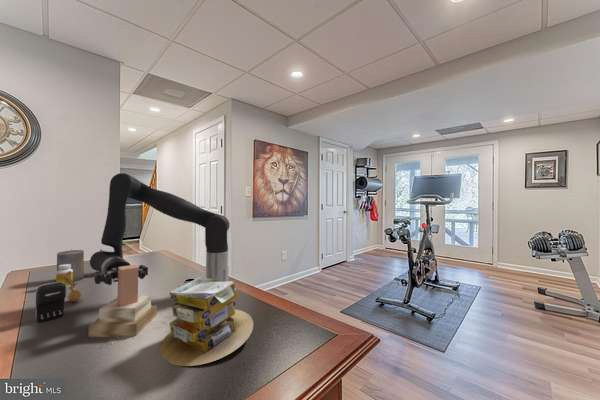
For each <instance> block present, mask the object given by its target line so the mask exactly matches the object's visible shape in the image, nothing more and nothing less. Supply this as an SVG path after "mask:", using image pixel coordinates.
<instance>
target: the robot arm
mask: <svg viewBox="0 0 600 400" xmlns="http://www.w3.org/2000/svg"><path fill="white" fill-rule="evenodd" d="M108 192H109V194H108V206H107V215H106V219H105V224H104V227H103V232H102V236H101V239H100V243H101V245H104V246H106V247H113V248H114V252H105V251H100V250H99V251H96V252H94V253H93V254H92V255H91V256H90V259H89V265H90V268H91V269H93V270H94V282H95V285H99V284H101V283H103V284H105V285H108V286H111V285H112V284H113V283H118V267H122V266H129V265H131V264H130V262H129V261H127V260H126V259H124V256H123V254H124V253H123V240H124V236H125V231H126V226H127V225H126V224H127V218H126V206H127V201H128V199H131V200H135V201H137V202H141V203H144V204H146V205H148V206H150V207H151V208H153V209H154V210H155V211H158V212H159V213H162V214H163V215H166V216H169V217H171V218H172V219H177V220H180V221H182V222H183V221H184V222H188V223H193V224H196V225H199V226H200V227H203V228H204V236H205V237H204V239H205V240H204V241H205V242H204V243H205V247H206V250H205V252H206V254H205V279H206V278H207V279H212V280H217V279H218V280H219V282H225V281H229V265H228V262H229V243H228V231H229V229H230V222H229V219H228V218H227V217H226V216H224V215H221V214H218V213H215V212H212V211H209V210H206V209H204V208H202V207H200V206H198V205H196V204H195V203H193V202H190V201H188V200H187V199H184V198H183V197H180V196H177V195H176V194H174V193H170V192H167V191H163V190H159V189H156V188H153V187H151V186H150V185H147V184H145V183H144V182H142V181H140V180H139V179H137V178H136V177H134V176H133V175H130V174H128V173H124V172H120V173H117V174H115V175H114V176H112V177H111V179H110V182H109V191H108ZM138 267H139V271H138V279H140V280H143V279H145V277H146V276H148V275H149V267H147V266H145V265H144V264H140V265H138ZM99 271H101V272H102V273H101V272H99ZM220 280H221V281H220ZM222 280H223V281H222Z"/></svg>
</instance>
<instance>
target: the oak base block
mask: <svg viewBox="0 0 600 400" xmlns="http://www.w3.org/2000/svg"><path fill="white" fill-rule="evenodd" d="M157 316H158V305H151V308H150V309H148V310H147V311H146V312H145V313H144V314H143V315H142V316H140V317H139V318H138V319H137V320H136V321H131V322H100V323H99V318H98V319H96V320H95V321H93V322H92V323H91V324H89V325H88V335H87V336H88V338H105V337H106V338H109V337H111V338H112V337H113V338H114V337H134V336H138V335H139V334H140V333H141V332H142V331H143V330H144V329H145V328H146V327H147V326H148V325H149V324H150V323H151V322H152V321H153V320H154V319H155V318H156V317H157Z"/></svg>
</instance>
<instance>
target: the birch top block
mask: <svg viewBox="0 0 600 400" xmlns="http://www.w3.org/2000/svg"><path fill="white" fill-rule="evenodd" d="M151 306H152V295H138V302H136V303H132V304H128V305H124V306H120V305H119V304H118V302H117V297H116V298H114V299H112V300H111V301H109V302H108V303H106V304H105V305H103V306H101V307H100V308H98V319H99V323H100V322H131V321H136V320H137V319H138V318H139V317H140V316H142V315H143V314H144V313H145V312H146V311H147V310H148V309H150V308H151Z"/></svg>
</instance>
